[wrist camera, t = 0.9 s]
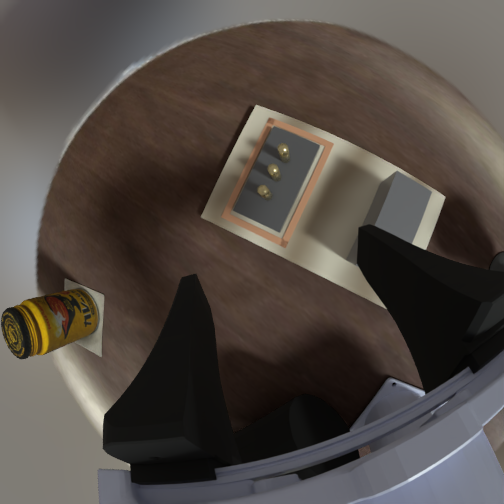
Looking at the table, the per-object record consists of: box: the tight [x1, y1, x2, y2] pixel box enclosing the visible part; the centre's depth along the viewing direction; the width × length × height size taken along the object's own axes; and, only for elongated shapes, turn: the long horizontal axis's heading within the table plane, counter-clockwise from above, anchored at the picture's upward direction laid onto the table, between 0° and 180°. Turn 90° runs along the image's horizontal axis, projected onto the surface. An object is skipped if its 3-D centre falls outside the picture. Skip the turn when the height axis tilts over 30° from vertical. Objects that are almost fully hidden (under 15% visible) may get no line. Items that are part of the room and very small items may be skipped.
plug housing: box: [346, 171, 432, 267], centre depth 21 cm, size 3×8×5 cm, turn 154°
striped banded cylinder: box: [234, 394, 360, 480], centre depth 24 cm, size 10×34×10 cm, turn 135°
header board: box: [201, 105, 445, 309], centre depth 22 cm, size 20×12×5 cm, turn 64°
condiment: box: [1, 278, 104, 359], centre depth 25 cm, size 7×8×12 cm
